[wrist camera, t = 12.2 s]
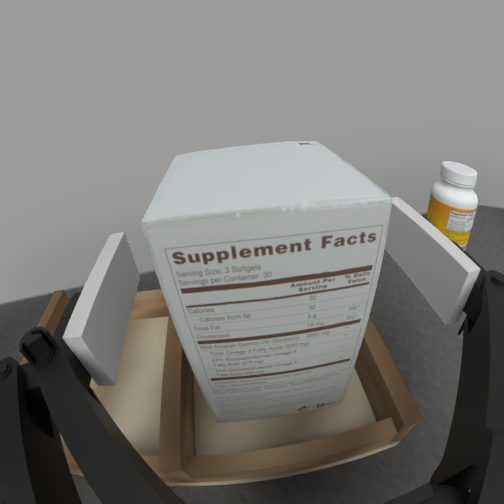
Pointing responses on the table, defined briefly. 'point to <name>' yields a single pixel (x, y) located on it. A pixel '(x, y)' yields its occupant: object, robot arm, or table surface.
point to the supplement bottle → (454, 202)
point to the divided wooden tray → (242, 432)
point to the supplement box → (268, 272)
